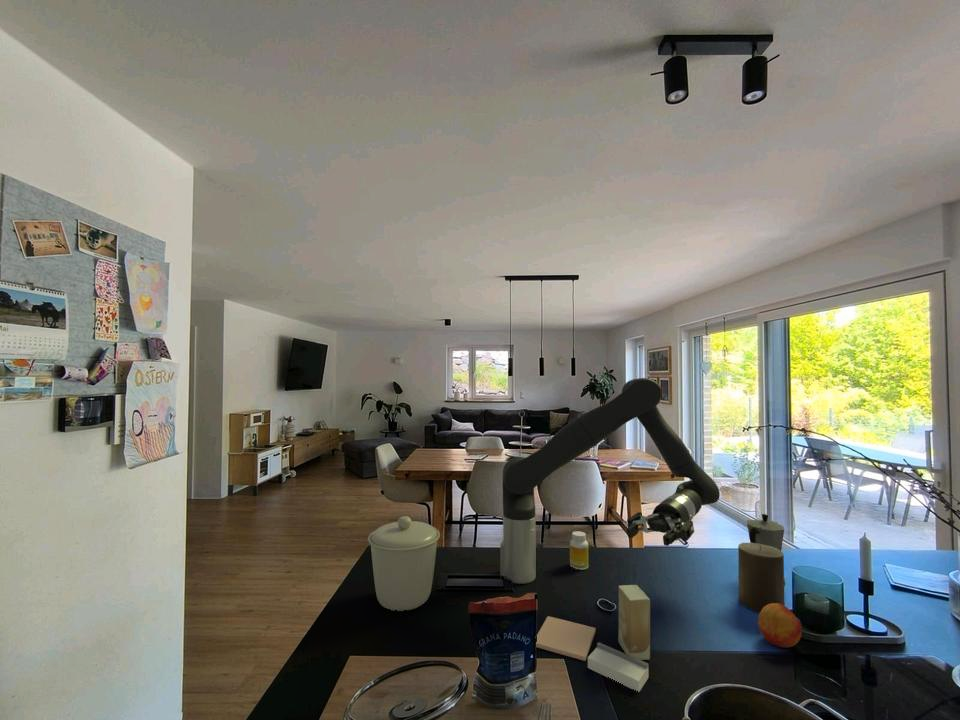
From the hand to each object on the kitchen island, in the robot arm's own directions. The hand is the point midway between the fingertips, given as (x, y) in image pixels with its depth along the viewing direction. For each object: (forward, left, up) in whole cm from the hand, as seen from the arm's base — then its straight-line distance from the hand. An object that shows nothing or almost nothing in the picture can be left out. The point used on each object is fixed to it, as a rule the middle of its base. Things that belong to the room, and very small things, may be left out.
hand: (646, 537), depth 98 cm
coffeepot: (+28, +39, -20) cm, 52 cm away
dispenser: (-4, -18, -20) cm, 28 cm away
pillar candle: (+25, +23, -20) cm, 40 cm away
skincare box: (-2, -10, -20) cm, 23 cm away
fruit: (+26, +6, -20) cm, 34 cm away
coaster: (-16, -12, -20) cm, 28 cm away
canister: (-57, -14, -20) cm, 62 cm away
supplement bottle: (-21, +25, -20) cm, 38 cm away
